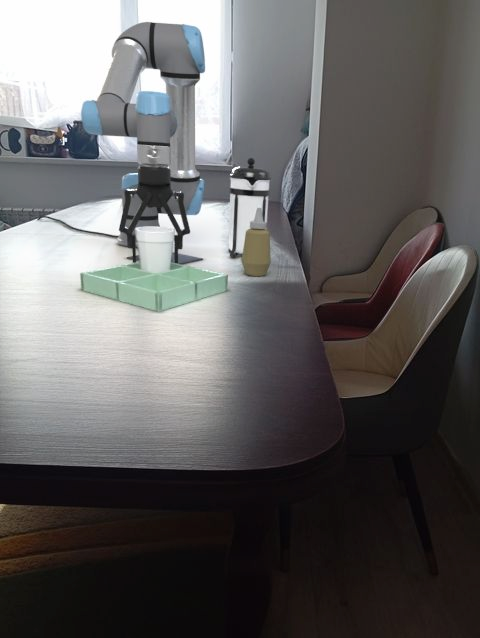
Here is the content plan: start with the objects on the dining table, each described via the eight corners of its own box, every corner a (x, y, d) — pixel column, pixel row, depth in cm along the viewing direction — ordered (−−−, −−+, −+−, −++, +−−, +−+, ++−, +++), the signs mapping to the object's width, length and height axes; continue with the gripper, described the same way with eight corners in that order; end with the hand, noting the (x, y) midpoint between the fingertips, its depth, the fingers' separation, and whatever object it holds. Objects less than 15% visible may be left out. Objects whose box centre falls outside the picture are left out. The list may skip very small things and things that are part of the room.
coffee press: (280, 256, 169) (287, 160, 158) (246, 262, 158) (251, 158, 147) (243, 248, 180) (247, 157, 169) (209, 252, 169) (211, 155, 158)
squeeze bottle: (248, 278, 138) (252, 209, 132) (236, 271, 145) (239, 206, 139) (274, 276, 142) (279, 210, 136) (261, 270, 149) (265, 206, 142)
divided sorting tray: (81, 290, 118) (80, 272, 116) (154, 273, 137) (154, 258, 135) (158, 311, 106) (158, 293, 105) (227, 290, 125) (228, 274, 124)
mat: (126, 258, 152) (126, 257, 152) (163, 251, 165) (164, 250, 165) (167, 267, 145) (167, 266, 145) (202, 259, 157) (202, 258, 157)
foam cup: (178, 279, 133) (179, 228, 128) (169, 287, 124) (169, 233, 120) (143, 276, 133) (142, 225, 129) (131, 284, 125) (129, 230, 120)
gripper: (103, 163, 113) (108, 264, 121) (203, 169, 118) (201, 265, 126) (105, 162, 120) (109, 257, 128) (200, 168, 125) (198, 259, 133)
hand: (155, 261), depth 127 cm, fingers closed on foam cup, 9 cm apart
